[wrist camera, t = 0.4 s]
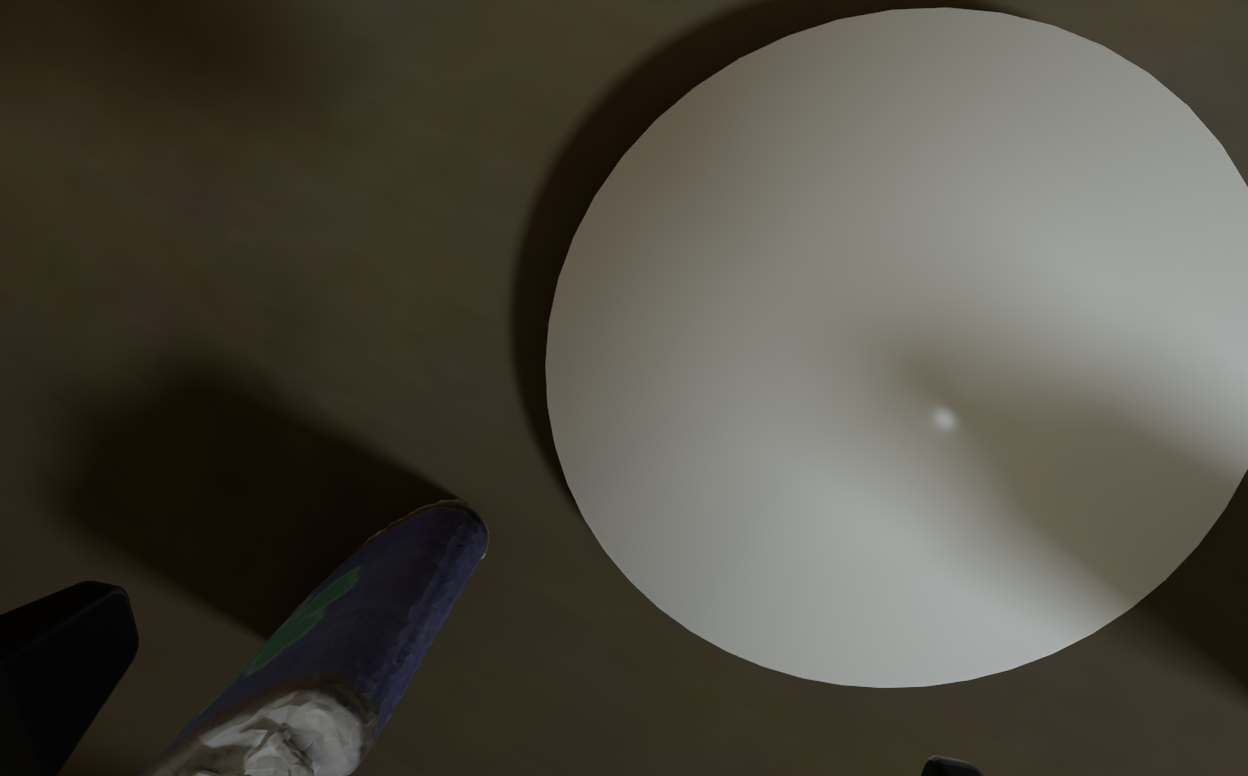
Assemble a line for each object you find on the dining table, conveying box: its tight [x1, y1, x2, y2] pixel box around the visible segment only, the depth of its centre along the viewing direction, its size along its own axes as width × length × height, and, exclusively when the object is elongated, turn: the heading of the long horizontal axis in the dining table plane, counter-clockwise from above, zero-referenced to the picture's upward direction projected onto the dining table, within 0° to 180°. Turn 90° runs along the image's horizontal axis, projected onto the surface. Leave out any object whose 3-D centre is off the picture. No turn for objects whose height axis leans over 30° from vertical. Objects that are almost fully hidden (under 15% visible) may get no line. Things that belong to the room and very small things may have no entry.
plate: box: [545, 8, 1248, 688], centre depth 20 cm, size 18×18×2 cm
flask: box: [139, 499, 489, 776], centre depth 20 cm, size 9×3×11 cm, turn 130°
